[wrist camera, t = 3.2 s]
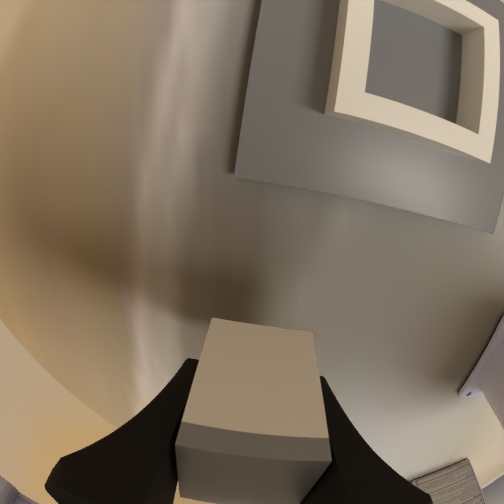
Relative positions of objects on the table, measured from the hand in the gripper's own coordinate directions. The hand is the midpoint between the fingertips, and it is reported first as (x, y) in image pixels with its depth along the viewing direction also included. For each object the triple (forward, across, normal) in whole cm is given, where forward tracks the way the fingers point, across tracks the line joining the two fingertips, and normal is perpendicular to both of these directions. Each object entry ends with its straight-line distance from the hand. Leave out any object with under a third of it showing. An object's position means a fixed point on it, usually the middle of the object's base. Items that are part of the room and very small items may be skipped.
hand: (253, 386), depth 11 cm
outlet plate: (+5, -5, -14) cm, 16 cm away
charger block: (+2, 0, 0) cm, 2 cm away
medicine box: (+6, -26, +22) cm, 34 cm away
